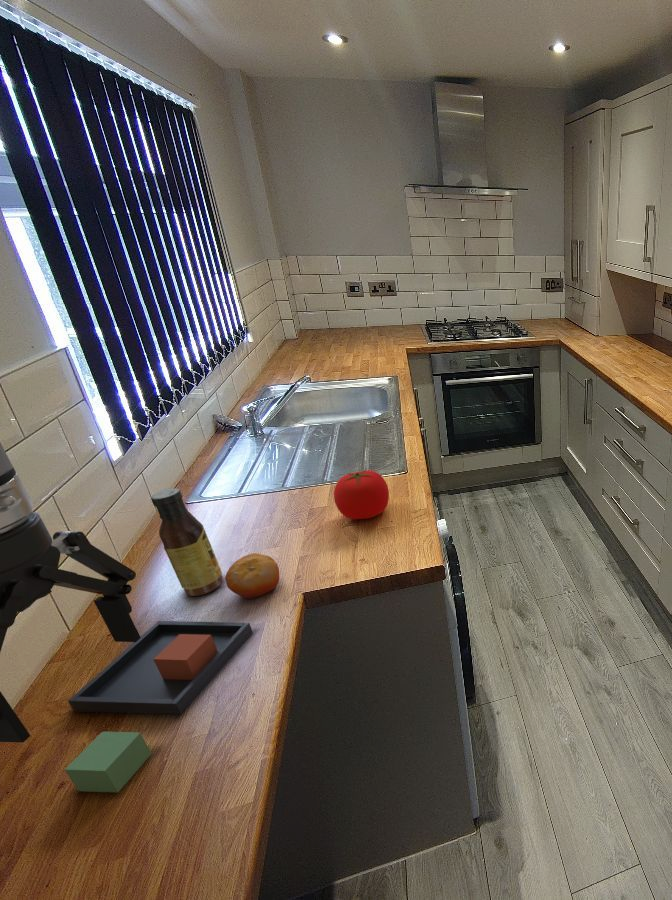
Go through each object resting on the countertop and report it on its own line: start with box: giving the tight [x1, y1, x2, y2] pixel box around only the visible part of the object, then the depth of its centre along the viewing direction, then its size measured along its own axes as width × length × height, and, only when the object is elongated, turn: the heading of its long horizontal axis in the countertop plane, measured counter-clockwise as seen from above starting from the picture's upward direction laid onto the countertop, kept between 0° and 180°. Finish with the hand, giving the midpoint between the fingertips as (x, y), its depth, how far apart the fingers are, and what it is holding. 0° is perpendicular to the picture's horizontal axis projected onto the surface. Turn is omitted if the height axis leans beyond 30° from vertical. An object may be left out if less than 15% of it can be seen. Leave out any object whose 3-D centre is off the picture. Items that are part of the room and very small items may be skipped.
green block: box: [64, 731, 153, 794], centre depth 64 cm, size 5×5×4 cm
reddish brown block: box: [153, 634, 218, 680], centre depth 79 cm, size 5×5×4 cm
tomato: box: [333, 468, 390, 520], centre depth 118 cm, size 11×12×10 cm
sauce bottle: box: [150, 487, 224, 597], centre depth 94 cm, size 7×6×20 cm
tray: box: [67, 620, 254, 716], centre depth 80 cm, size 16×16×2 cm
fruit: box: [224, 552, 280, 600], centre depth 95 cm, size 8×8×8 cm
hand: (77, 684), depth 60 cm, fingers open, 13 cm apart
